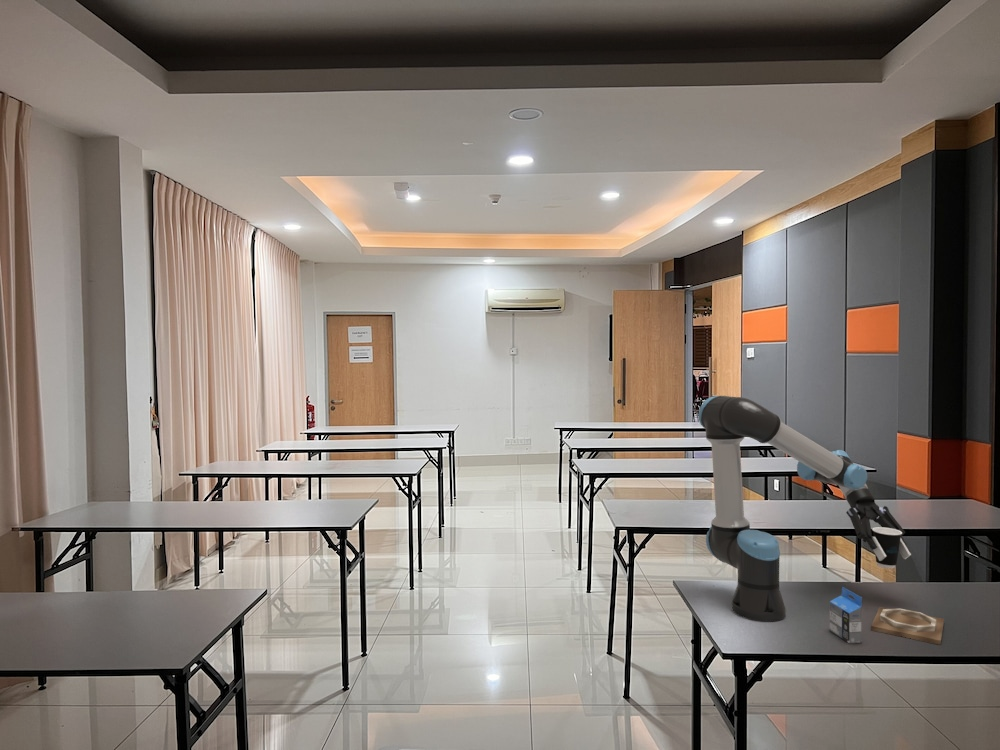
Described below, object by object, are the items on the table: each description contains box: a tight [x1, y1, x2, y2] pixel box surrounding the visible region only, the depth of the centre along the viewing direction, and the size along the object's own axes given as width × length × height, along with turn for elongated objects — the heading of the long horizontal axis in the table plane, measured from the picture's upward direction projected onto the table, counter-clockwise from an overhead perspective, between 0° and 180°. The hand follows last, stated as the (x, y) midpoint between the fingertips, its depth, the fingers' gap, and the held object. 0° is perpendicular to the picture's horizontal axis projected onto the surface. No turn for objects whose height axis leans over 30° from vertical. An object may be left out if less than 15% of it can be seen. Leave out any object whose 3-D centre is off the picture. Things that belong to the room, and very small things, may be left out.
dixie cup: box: [871, 526, 902, 570], centre depth 196 cm, size 8×8×11 cm
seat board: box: [870, 606, 945, 645], centre depth 181 cm, size 16×18×3 cm
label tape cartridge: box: [829, 586, 863, 645], centre depth 175 cm, size 9×4×12 cm, turn 5°
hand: (895, 557), depth 193 cm, fingers closed on dixie cup, 8 cm apart
